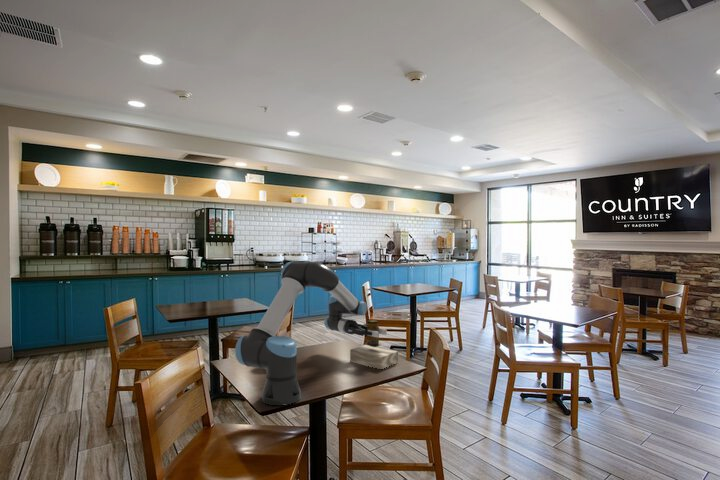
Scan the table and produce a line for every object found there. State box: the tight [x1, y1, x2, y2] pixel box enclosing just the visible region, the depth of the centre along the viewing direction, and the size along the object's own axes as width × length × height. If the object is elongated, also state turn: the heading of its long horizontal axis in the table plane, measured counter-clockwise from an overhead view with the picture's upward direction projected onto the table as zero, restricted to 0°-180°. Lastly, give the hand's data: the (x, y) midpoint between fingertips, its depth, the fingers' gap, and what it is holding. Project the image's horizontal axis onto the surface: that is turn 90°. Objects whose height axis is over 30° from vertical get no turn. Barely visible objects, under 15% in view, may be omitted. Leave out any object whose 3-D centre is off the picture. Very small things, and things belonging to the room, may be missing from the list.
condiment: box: [363, 319, 385, 347], centre depth 196 cm, size 7×8×12 cm
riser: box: [349, 344, 399, 370], centre depth 196 cm, size 14×20×6 cm
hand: (382, 333), depth 193 cm, fingers closed on condiment, 6 cm apart
